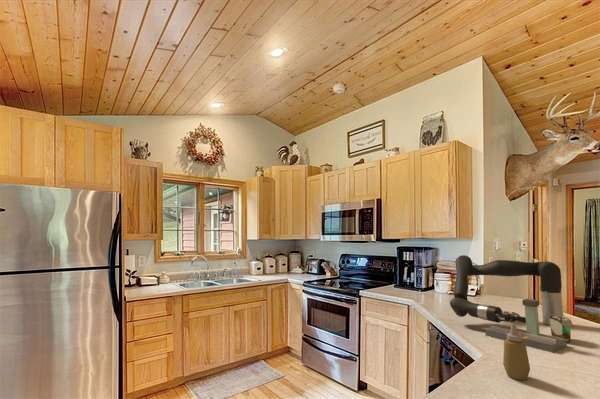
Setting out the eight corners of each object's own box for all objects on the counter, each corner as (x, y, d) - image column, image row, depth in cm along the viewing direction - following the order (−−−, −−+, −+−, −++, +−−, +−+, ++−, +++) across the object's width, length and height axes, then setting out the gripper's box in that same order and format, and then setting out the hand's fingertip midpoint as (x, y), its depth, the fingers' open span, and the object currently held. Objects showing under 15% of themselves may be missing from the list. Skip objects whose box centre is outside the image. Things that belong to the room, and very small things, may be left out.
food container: (580, 344, 149) (578, 321, 150) (564, 343, 151) (562, 321, 151) (564, 336, 161) (562, 314, 162) (550, 335, 163) (548, 314, 164)
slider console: (500, 330, 171) (500, 322, 172) (566, 346, 148) (566, 336, 148) (485, 335, 164) (485, 326, 164) (553, 352, 140) (552, 342, 141)
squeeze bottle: (498, 372, 121) (495, 321, 123) (519, 371, 122) (515, 320, 124) (514, 382, 113) (510, 328, 115) (537, 381, 114) (532, 327, 116)
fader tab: (529, 333, 156) (526, 298, 157) (541, 336, 152) (538, 300, 153) (524, 335, 154) (522, 299, 155) (537, 337, 149) (534, 301, 151)
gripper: (481, 307, 166) (519, 314, 152) (495, 303, 173) (533, 310, 159) (482, 322, 166) (521, 331, 151) (496, 318, 173) (534, 326, 158)
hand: (527, 320), depth 155 cm, fingers closed
